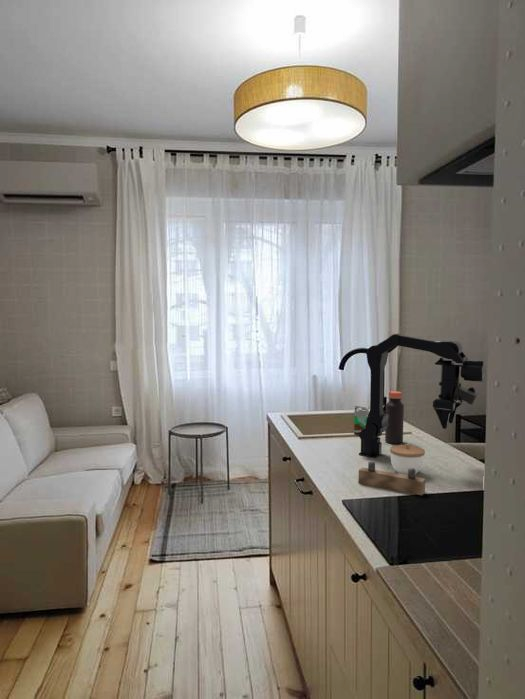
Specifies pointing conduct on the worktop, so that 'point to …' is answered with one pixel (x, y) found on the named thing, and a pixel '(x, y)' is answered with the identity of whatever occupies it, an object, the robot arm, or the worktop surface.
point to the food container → (360, 418)
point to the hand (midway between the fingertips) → (447, 425)
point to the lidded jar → (406, 458)
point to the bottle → (394, 418)
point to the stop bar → (392, 480)
